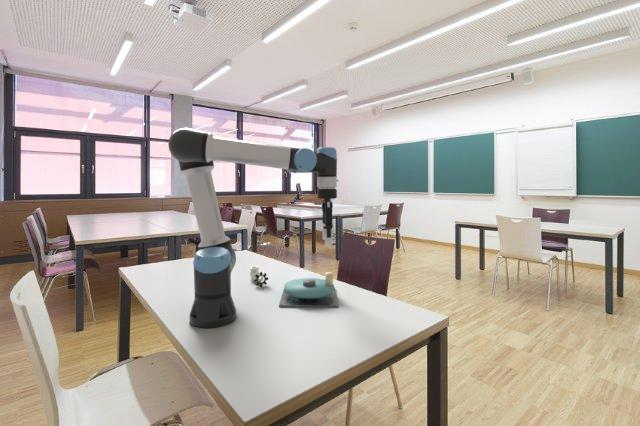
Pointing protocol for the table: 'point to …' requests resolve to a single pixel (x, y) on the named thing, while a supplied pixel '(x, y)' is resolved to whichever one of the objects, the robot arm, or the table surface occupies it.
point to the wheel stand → (308, 301)
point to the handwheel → (310, 287)
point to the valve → (257, 276)
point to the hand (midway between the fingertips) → (327, 242)
